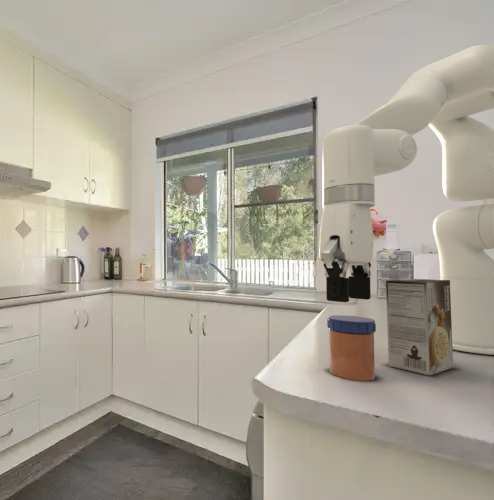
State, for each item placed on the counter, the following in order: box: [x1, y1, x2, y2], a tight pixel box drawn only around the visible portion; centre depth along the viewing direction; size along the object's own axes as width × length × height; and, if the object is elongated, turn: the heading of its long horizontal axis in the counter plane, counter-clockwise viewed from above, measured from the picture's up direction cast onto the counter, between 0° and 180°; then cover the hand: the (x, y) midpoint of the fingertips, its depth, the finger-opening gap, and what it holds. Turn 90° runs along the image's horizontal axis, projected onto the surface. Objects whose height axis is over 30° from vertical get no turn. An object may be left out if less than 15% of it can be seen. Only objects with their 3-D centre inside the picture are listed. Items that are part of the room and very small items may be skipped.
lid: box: [326, 314, 377, 334], centre depth 58 cm, size 7×7×2 cm
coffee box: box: [385, 278, 454, 376], centre depth 62 cm, size 9×6×16 cm
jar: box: [328, 328, 376, 382], centre depth 58 cm, size 6×6×9 cm
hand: (349, 299), depth 58 cm, fingers open, 7 cm apart
